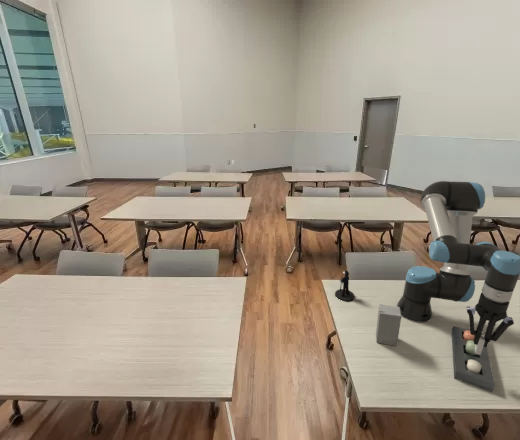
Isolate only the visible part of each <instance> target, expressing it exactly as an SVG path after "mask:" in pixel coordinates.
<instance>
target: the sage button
mask: <svg viewBox="0 0 520 440" xmlns="http://www.w3.org/2000/svg"><path fill="white" fill-rule="evenodd" d="M475 345H476V344H474V341H471V340H469V341H467V344H466V348H465V351H466V352H467V353H469V354H471V355H477V354H475Z"/></svg>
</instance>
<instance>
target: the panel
mask: <svg viewBox="0 0 520 440" xmlns="http://www.w3.org/2000/svg"><path fill="white" fill-rule="evenodd" d="M466 330H469V331H470V329H467V328H463V327H460V326H455V325H452V328H451V345H452V346H451V348H452V363H453V379H456V380H458V381H460V382H463V383H466V384H468V385H471V386H473V387H477V388H479V389H482V390H485V391H488V392H490V393H492V392H493V391H494V388H495V379H494V376H493V371H492V370H493V369H492V365H491V360H490V356H489V351H488V346H487V347H483V349H482V352H481V355H478V354H477V355H471V354H469V353H467V352H466V351H465V348H466V344H467V341H469V340H466V339H463V335H464V332H465V331H466ZM481 335H483V336H485V333H482V334H481ZM470 359H472V360H475V361H477V362H479V363H480V364H481V366H482V367H481V370H480V373H479V374H477V373H474V372H471V371H469V370H466V366H467V363H468V360H470Z"/></svg>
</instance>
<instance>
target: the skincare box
mask: <svg viewBox="0 0 520 440" xmlns="http://www.w3.org/2000/svg"><path fill="white" fill-rule="evenodd" d="M378 305H379V306H378V311H377V312H378V313H377V320H376V329H375V330H376V331H375V337H376V339H375V341H376V343H379V344H383V345H388V346H389V345H390V346H394V347H397V346H398V341H399V334H400V328H401V321H402V317H403V316H402V315H401V311H400V307H397V306H396V305H395V306H393V305H387V304H380V303H379V304H378Z"/></svg>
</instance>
